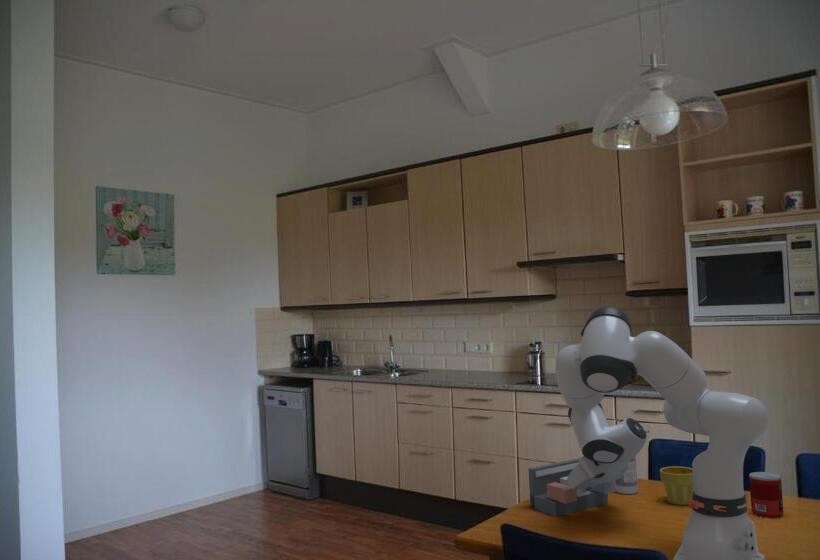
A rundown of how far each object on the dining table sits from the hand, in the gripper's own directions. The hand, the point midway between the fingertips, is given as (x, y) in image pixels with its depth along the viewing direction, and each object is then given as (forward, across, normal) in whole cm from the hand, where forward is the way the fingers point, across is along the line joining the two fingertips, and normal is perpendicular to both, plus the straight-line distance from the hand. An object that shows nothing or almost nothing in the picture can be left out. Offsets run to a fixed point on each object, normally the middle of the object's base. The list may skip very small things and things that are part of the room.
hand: (584, 489), depth 197 cm
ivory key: (+5, 0, -2) cm, 5 cm away
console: (+10, 0, -1) cm, 10 cm away
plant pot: (-4, -28, +13) cm, 31 cm away
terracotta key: (+3, +8, 0) cm, 8 cm away
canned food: (-20, -37, +29) cm, 50 cm away
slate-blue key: (+3, -8, 0) cm, 9 cm away
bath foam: (+9, -25, 0) cm, 27 cm away
